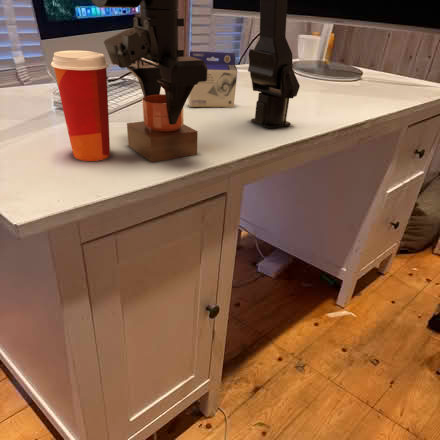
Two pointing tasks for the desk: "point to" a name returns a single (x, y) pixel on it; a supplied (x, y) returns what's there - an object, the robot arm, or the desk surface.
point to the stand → (162, 142)
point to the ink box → (215, 81)
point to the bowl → (158, 114)
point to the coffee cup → (84, 102)
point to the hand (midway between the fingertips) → (161, 118)
